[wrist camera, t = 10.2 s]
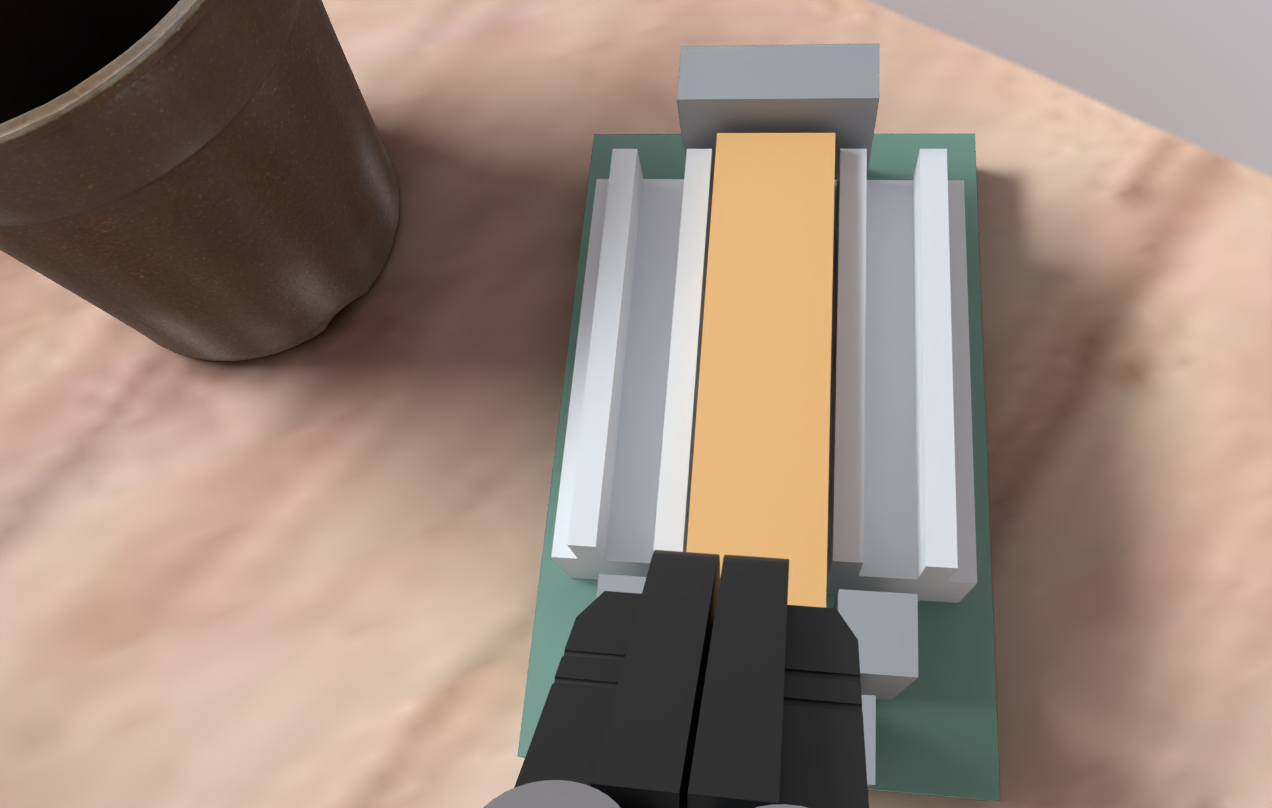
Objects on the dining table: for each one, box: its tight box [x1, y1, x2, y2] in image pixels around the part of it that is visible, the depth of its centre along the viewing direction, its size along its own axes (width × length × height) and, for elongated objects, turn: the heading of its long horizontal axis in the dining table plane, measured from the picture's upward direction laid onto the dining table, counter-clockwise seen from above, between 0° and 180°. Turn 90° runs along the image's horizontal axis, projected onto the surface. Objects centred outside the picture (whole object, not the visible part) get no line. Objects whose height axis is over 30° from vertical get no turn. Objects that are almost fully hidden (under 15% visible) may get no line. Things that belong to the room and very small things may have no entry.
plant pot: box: [0, 0, 400, 361], centre depth 34 cm, size 16×16×16 cm
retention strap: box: [686, 133, 835, 608], centre depth 28 cm, size 15×4×1 cm, turn 175°
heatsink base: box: [518, 44, 1000, 801], centre depth 31 cm, size 14×22×8 cm, turn 175°
